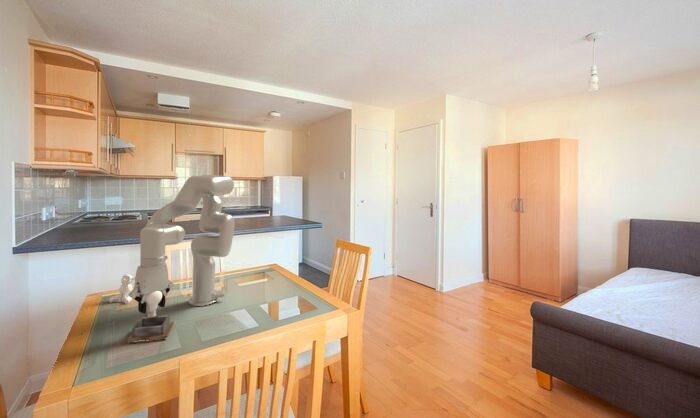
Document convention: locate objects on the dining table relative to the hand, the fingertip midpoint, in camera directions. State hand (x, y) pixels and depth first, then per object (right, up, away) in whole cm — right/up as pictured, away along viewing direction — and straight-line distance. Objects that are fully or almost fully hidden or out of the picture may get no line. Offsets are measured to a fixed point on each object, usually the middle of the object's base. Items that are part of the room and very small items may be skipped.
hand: (152, 309), depth 114 cm
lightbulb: (0, -3, 0) cm, 3 cm away
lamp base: (-1, -9, +1) cm, 9 cm away
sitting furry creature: (-32, -6, +30) cm, 44 cm away
